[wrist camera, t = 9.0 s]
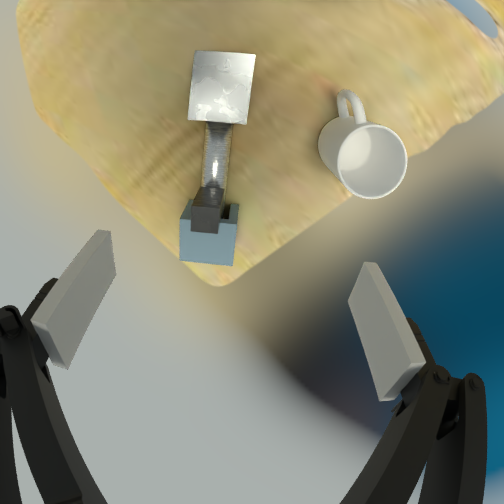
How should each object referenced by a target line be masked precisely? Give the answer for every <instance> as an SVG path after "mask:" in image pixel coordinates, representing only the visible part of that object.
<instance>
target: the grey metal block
mask: <svg viewBox="0 0 504 504" xmlns="http://www.w3.org/2000/svg"><path fill="white" fill-rule="evenodd" d="M255 56H256V55H254V54H245V53H234V52H219V51H195V55H194V63H193V71H192V80H191V89H190V99H189V110H188V120H200V121H215V122H227V123H237V124H247V116H248V108H249V100H250V93H251V85H252V78H253V71H254V63H255Z"/></svg>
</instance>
